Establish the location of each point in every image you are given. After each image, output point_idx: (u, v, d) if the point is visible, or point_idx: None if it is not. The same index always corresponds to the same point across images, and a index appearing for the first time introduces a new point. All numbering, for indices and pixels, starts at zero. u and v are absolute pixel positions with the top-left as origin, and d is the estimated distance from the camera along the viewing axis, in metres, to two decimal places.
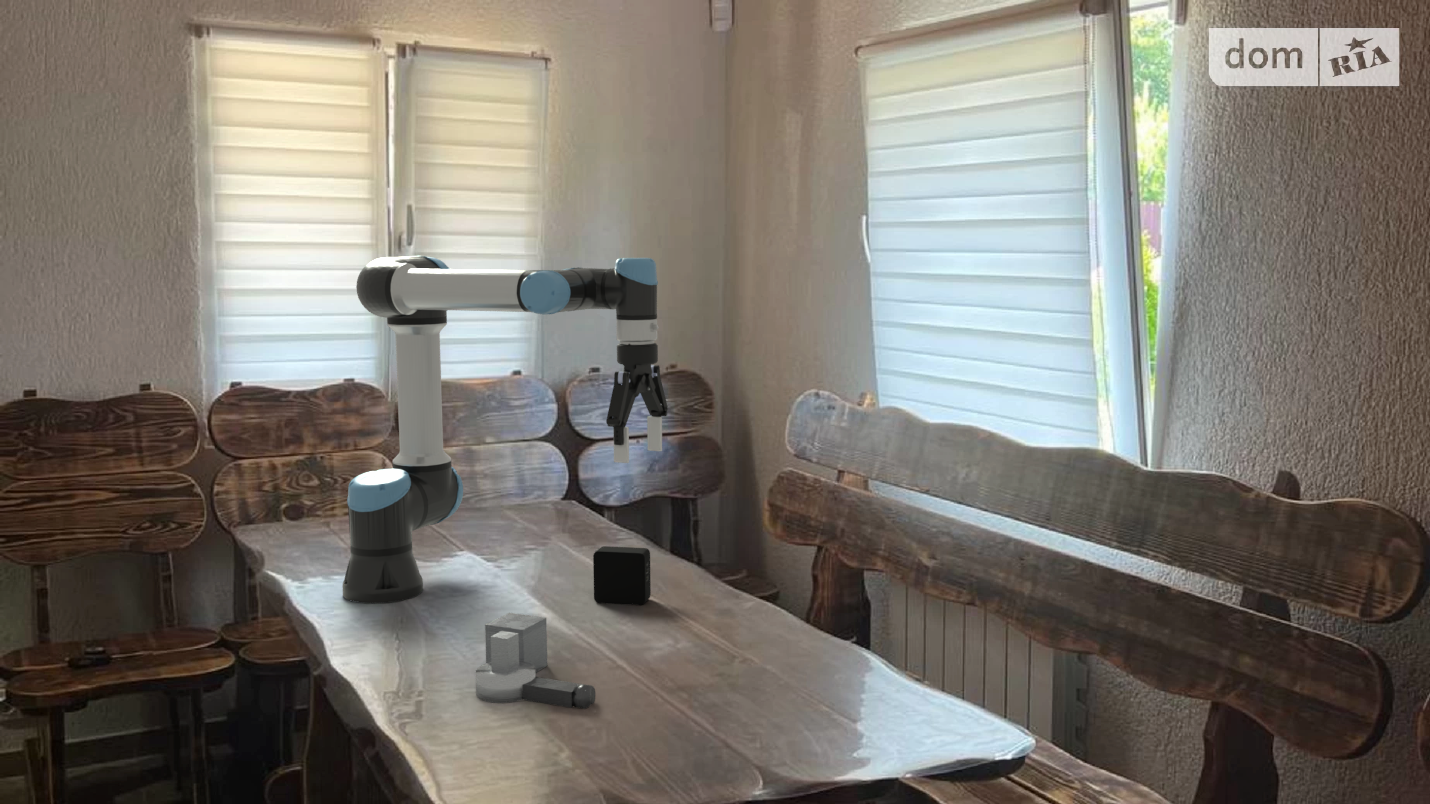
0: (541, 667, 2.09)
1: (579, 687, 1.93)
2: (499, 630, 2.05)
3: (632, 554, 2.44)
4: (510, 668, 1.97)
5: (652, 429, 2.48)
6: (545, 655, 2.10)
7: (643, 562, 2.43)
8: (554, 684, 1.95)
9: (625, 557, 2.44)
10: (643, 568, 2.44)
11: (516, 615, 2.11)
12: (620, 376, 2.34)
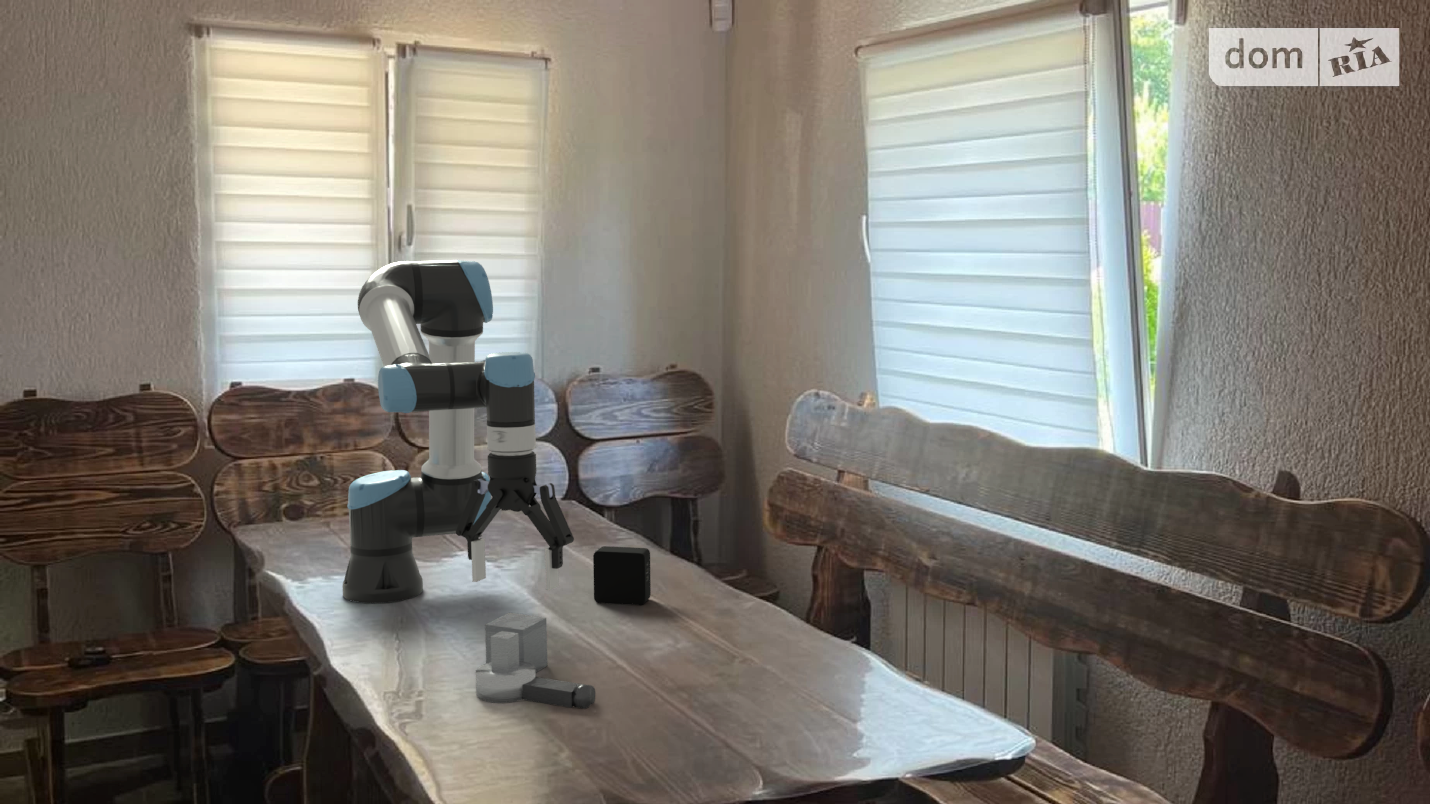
0: (541, 667, 2.09)
1: (579, 687, 1.93)
2: (499, 630, 2.05)
3: (632, 554, 2.44)
4: (510, 668, 1.97)
5: None
6: (545, 655, 2.10)
7: (643, 562, 2.43)
8: (554, 684, 1.95)
9: (625, 557, 2.44)
10: (643, 568, 2.44)
11: (516, 615, 2.11)
12: None
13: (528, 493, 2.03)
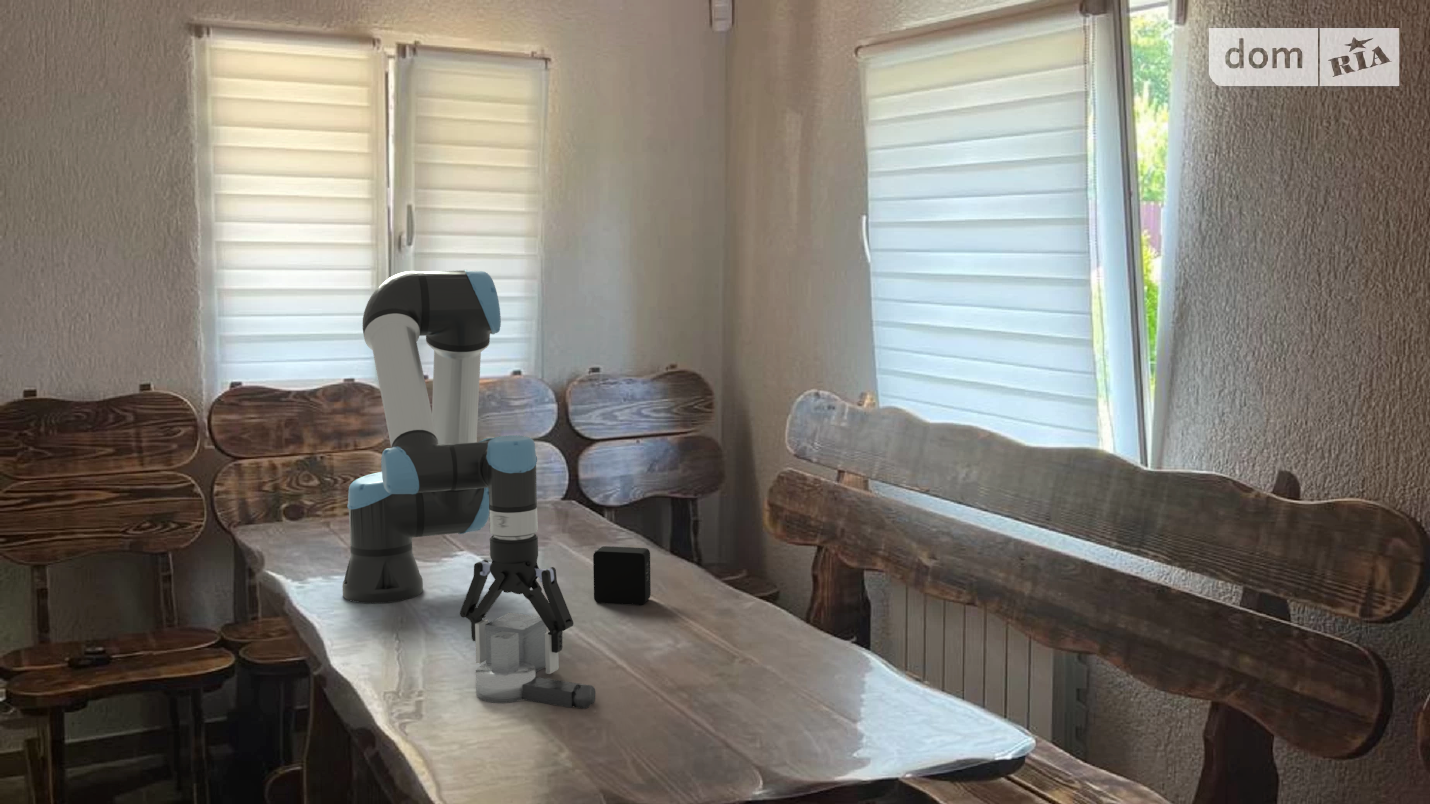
0: (541, 667, 2.09)
1: (579, 687, 1.93)
2: (499, 630, 2.05)
3: (632, 554, 2.44)
4: (510, 668, 1.97)
5: None
6: None
7: (643, 562, 2.43)
8: (554, 684, 1.95)
9: (625, 557, 2.44)
10: (643, 568, 2.44)
11: (516, 615, 2.11)
12: None
13: (530, 576, 2.05)
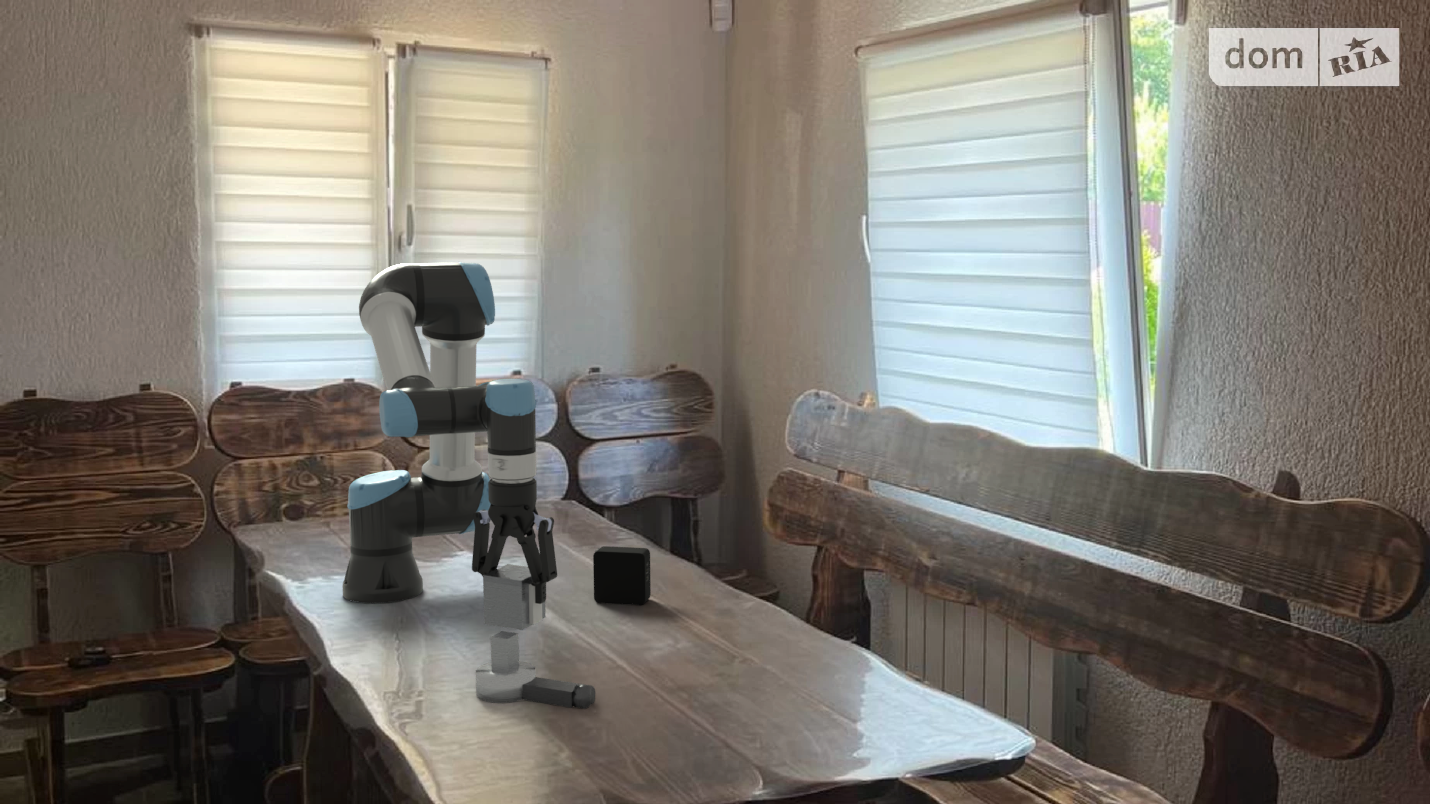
0: None
1: (579, 687, 1.93)
2: (497, 581, 2.05)
3: (632, 554, 2.44)
4: (510, 668, 1.97)
5: None
6: (543, 606, 2.10)
7: (643, 562, 2.43)
8: (554, 684, 1.95)
9: (625, 557, 2.44)
10: (643, 568, 2.44)
11: (514, 566, 2.10)
12: None
13: (527, 521, 2.04)
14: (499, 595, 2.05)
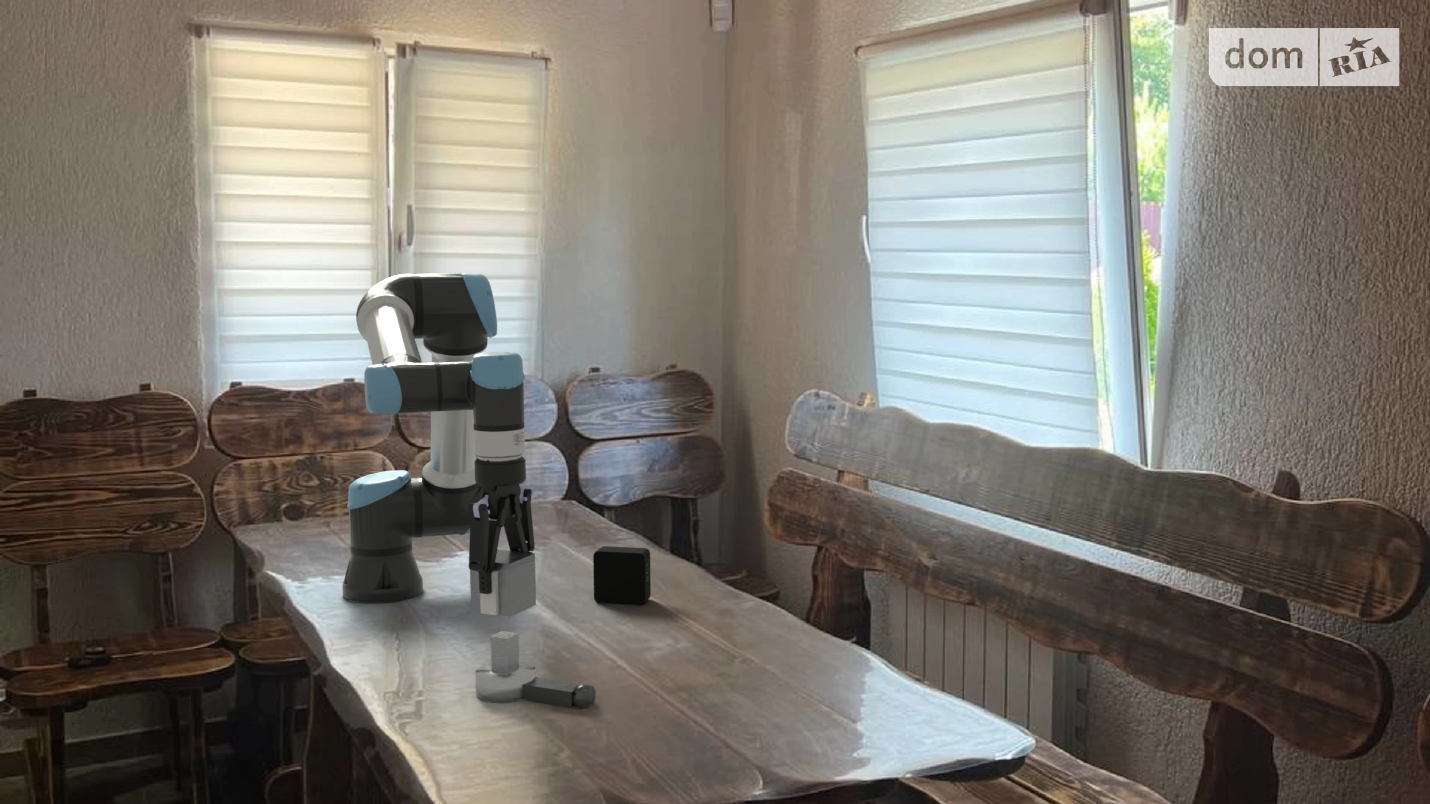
0: None
1: (579, 687, 1.93)
2: (519, 563, 1.94)
3: (632, 554, 2.44)
4: (510, 668, 1.97)
5: None
6: None
7: (643, 562, 2.43)
8: (554, 684, 1.95)
9: (625, 557, 2.44)
10: (643, 568, 2.44)
11: None
12: (475, 510, 1.89)
13: (519, 495, 1.97)
14: (520, 578, 1.94)
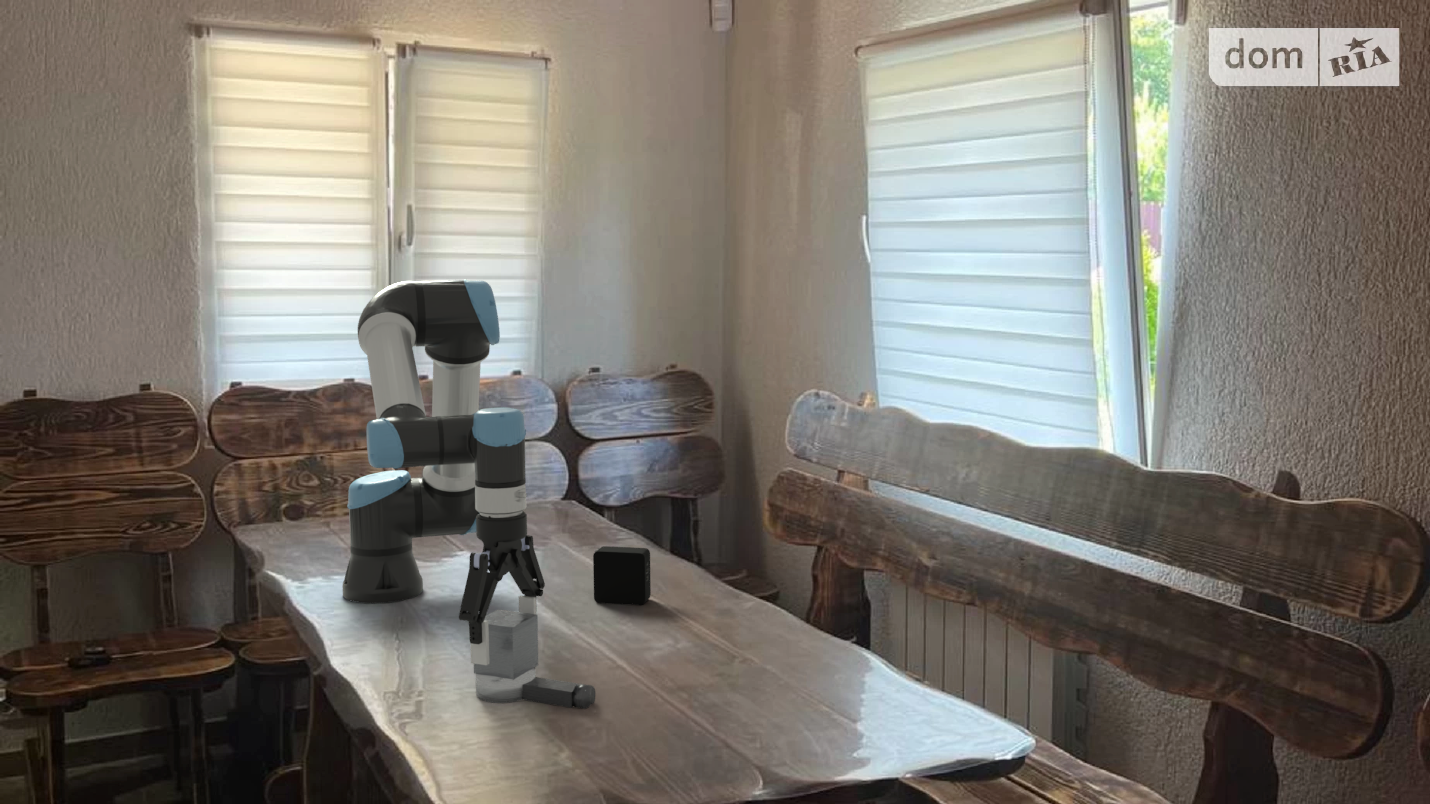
0: None
1: (579, 687, 1.93)
2: (522, 626, 1.96)
3: (632, 554, 2.44)
4: None
5: (524, 612, 2.03)
6: None
7: (643, 562, 2.43)
8: (554, 684, 1.95)
9: (625, 557, 2.44)
10: (643, 568, 2.44)
11: (484, 619, 1.97)
12: (476, 559, 1.90)
13: (521, 548, 1.99)
14: (523, 641, 1.96)
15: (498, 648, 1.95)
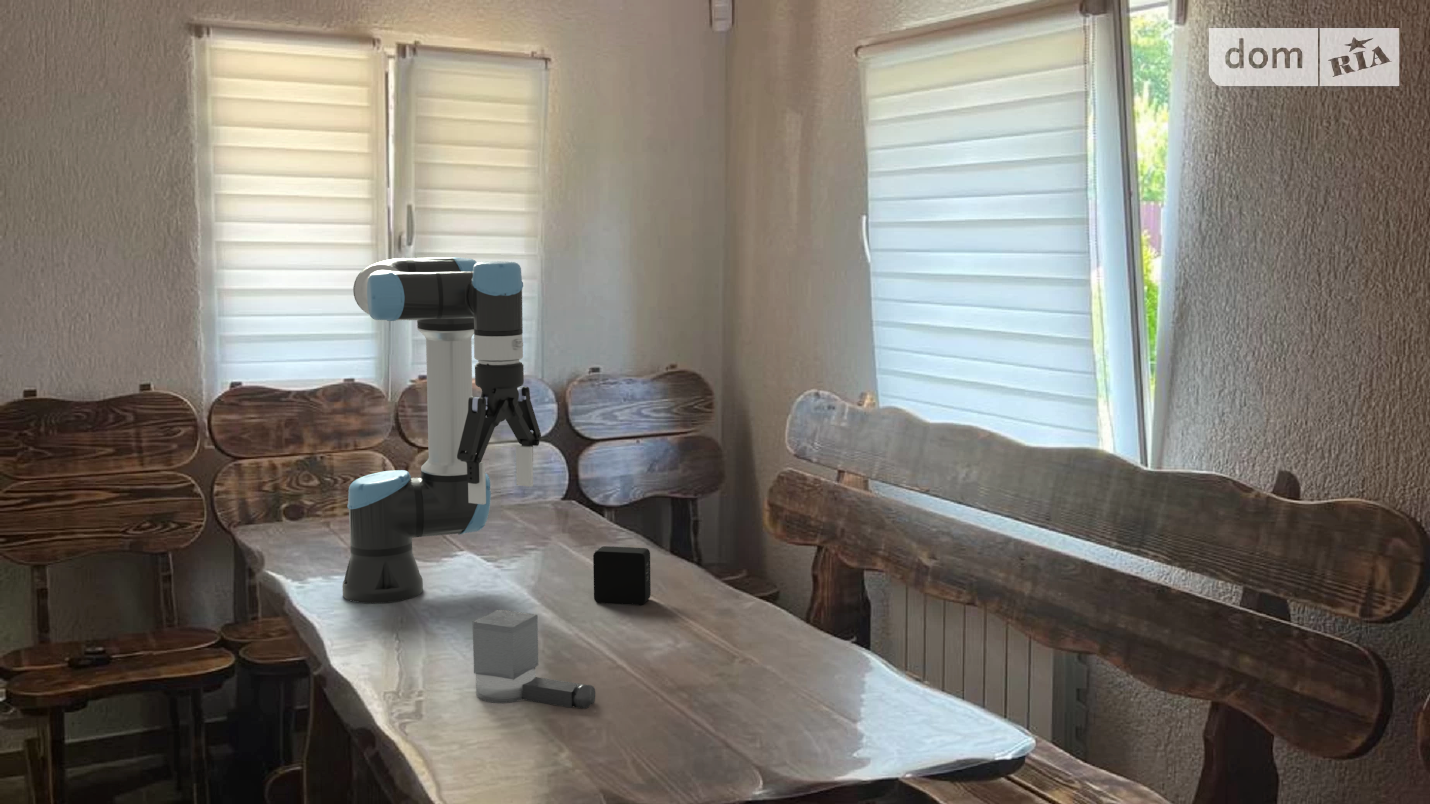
0: None
1: (579, 687, 1.93)
2: (522, 626, 1.96)
3: (632, 554, 2.44)
4: None
5: (521, 461, 2.12)
6: None
7: (643, 562, 2.43)
8: (554, 684, 1.95)
9: (625, 557, 2.44)
10: (643, 568, 2.44)
11: (484, 619, 1.97)
12: (474, 403, 1.98)
13: (517, 398, 2.07)
14: (523, 641, 1.96)
15: (498, 648, 1.95)
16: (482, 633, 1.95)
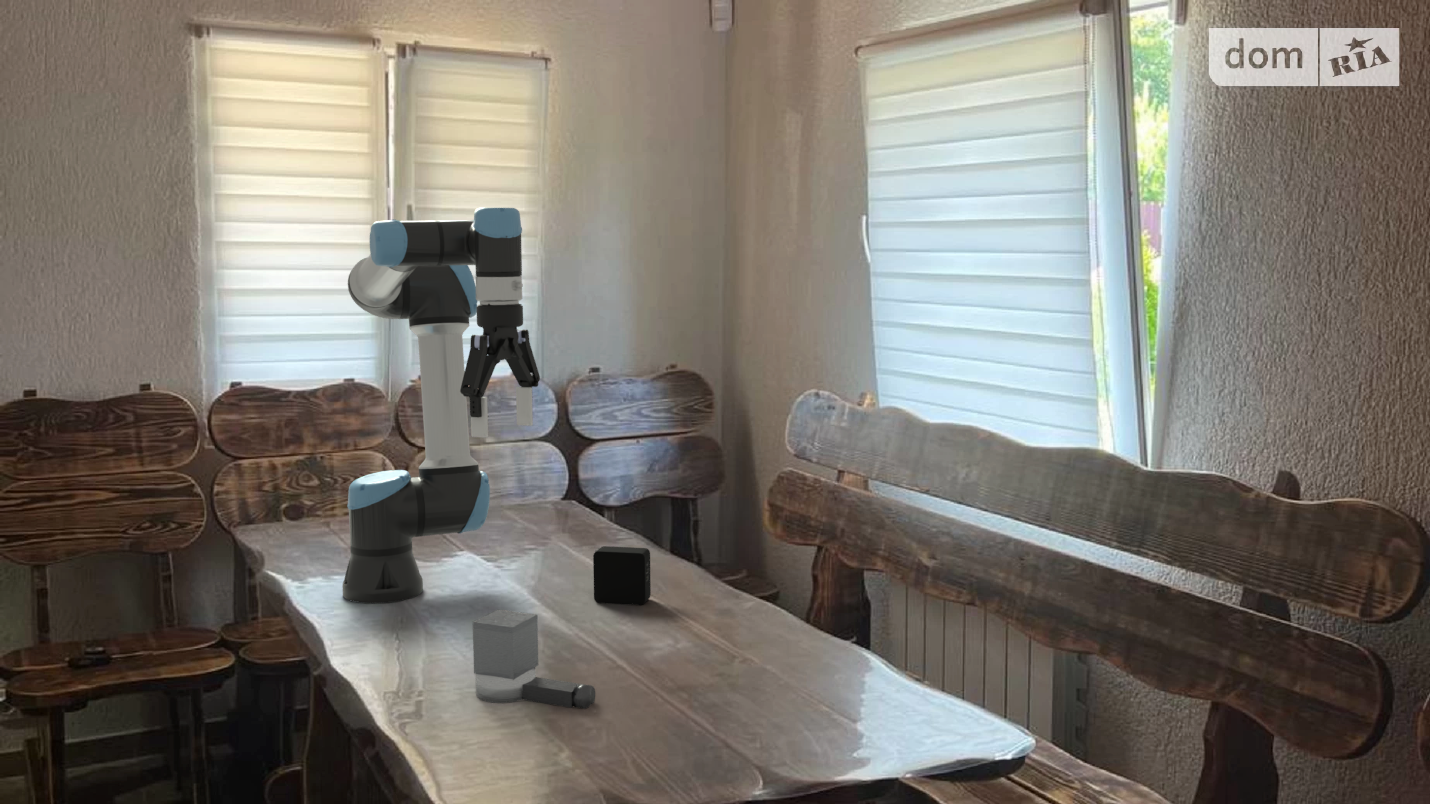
0: None
1: (579, 687, 1.93)
2: (522, 626, 1.96)
3: (632, 554, 2.44)
4: None
5: (521, 401, 2.22)
6: None
7: (643, 562, 2.43)
8: (554, 684, 1.95)
9: (625, 557, 2.44)
10: (643, 568, 2.43)
11: (484, 619, 1.97)
12: (476, 340, 2.08)
13: (517, 339, 2.17)
14: (523, 641, 1.96)
15: (498, 648, 1.95)
16: (482, 633, 1.95)
